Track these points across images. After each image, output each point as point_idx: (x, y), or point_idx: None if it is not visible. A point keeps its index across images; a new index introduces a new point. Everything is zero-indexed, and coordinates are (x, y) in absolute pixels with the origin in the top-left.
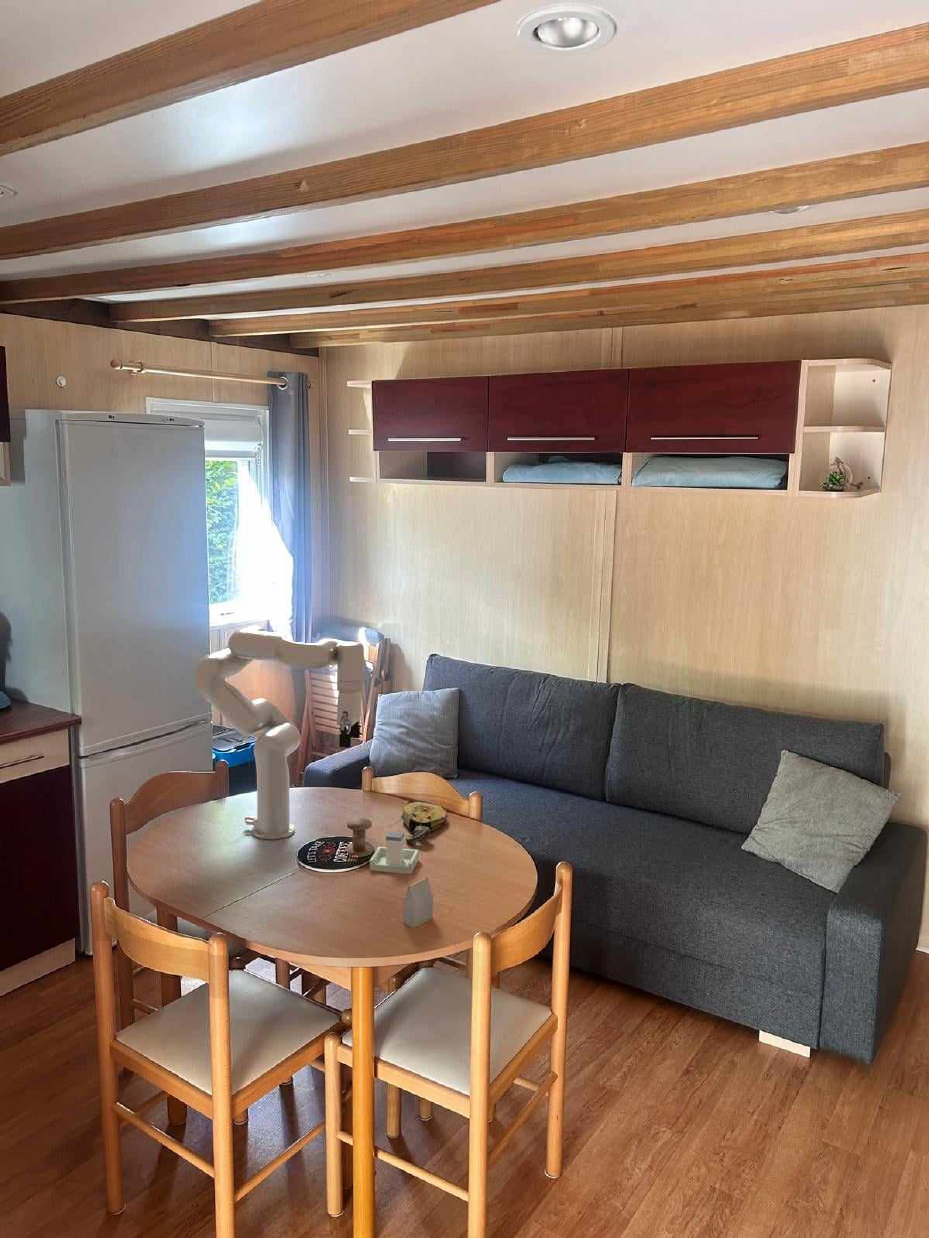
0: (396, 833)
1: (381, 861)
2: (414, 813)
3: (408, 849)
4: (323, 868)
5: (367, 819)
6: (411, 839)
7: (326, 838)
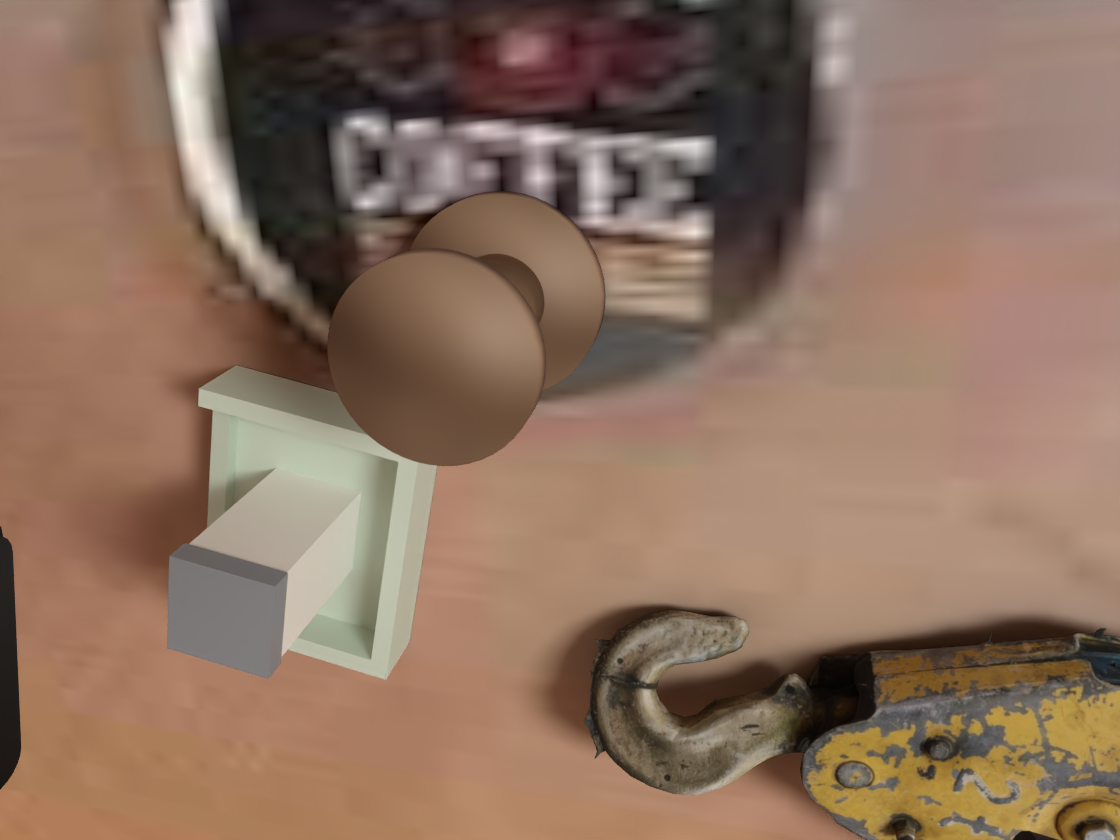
0: (235, 627)
1: (311, 443)
2: (984, 755)
3: (389, 625)
4: (217, 53)
5: (505, 434)
6: (608, 654)
7: (785, 10)
